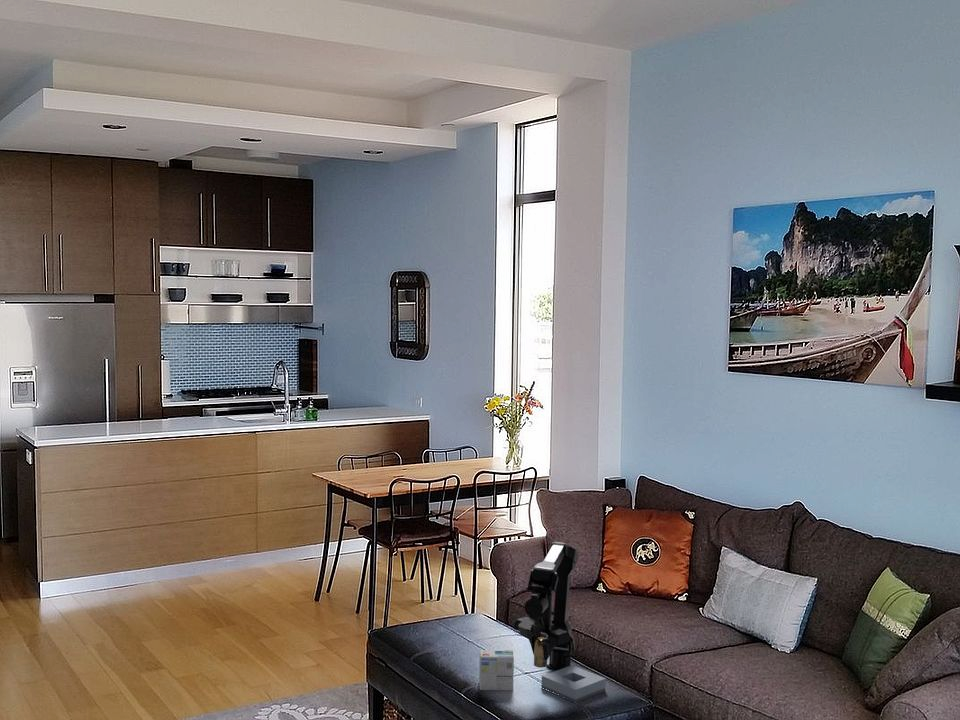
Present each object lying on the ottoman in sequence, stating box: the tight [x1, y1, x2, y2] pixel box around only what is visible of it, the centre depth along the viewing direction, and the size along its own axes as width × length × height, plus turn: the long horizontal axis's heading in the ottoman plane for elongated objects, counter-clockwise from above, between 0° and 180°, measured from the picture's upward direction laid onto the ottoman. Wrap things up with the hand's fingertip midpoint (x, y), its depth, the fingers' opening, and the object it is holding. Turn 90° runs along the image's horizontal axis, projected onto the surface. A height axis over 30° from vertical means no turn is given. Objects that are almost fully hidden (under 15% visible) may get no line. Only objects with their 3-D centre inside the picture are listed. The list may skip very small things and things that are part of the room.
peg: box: [533, 636, 548, 668], centre depth 315 cm, size 4×4×8 cm
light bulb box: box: [478, 649, 515, 691], centre depth 321 cm, size 11×7×11 cm, turn 92°
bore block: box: [541, 664, 607, 703], centre depth 320 cm, size 14×14×4 cm
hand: (540, 657), depth 315 cm, fingers closed on peg, 4 cm apart
